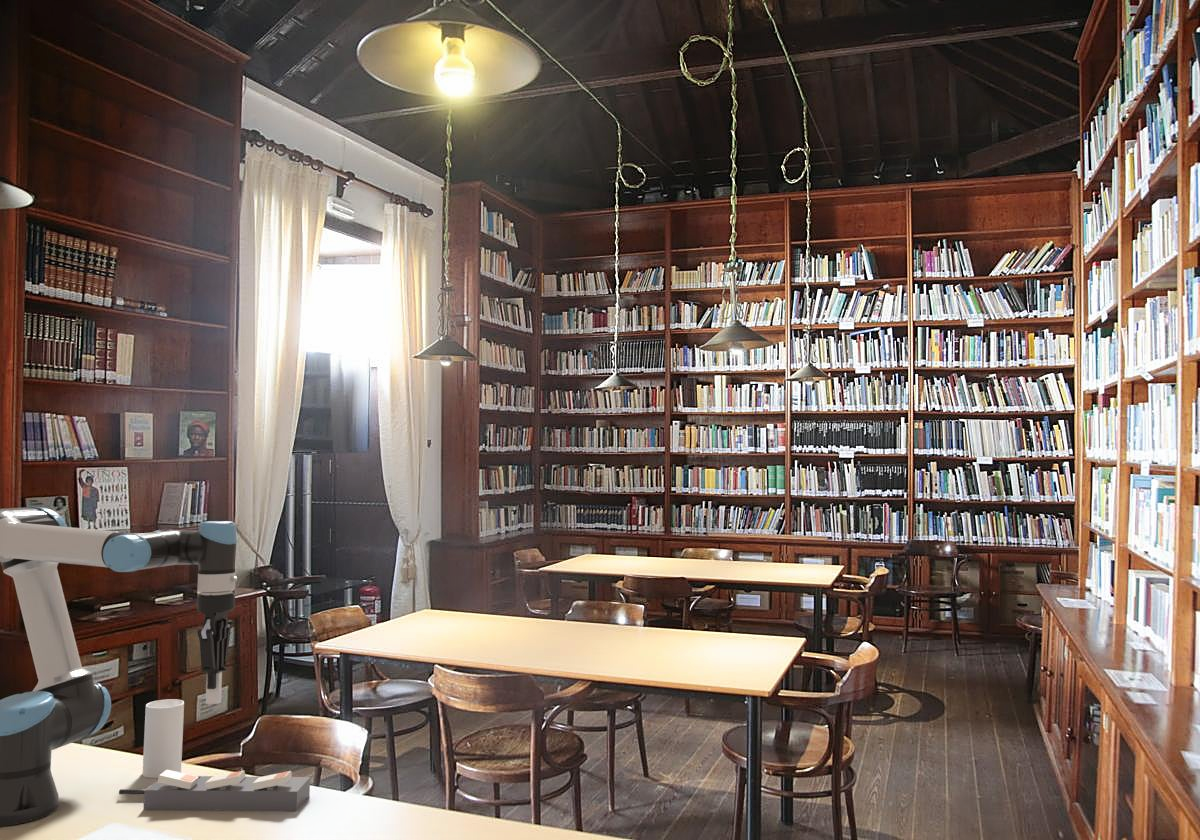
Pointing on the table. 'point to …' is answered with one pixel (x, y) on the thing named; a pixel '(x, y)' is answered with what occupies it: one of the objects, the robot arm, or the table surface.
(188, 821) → the table surface
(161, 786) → the strip
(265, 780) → the block
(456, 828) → the table surface
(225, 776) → the block
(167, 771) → the block
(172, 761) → the cup
